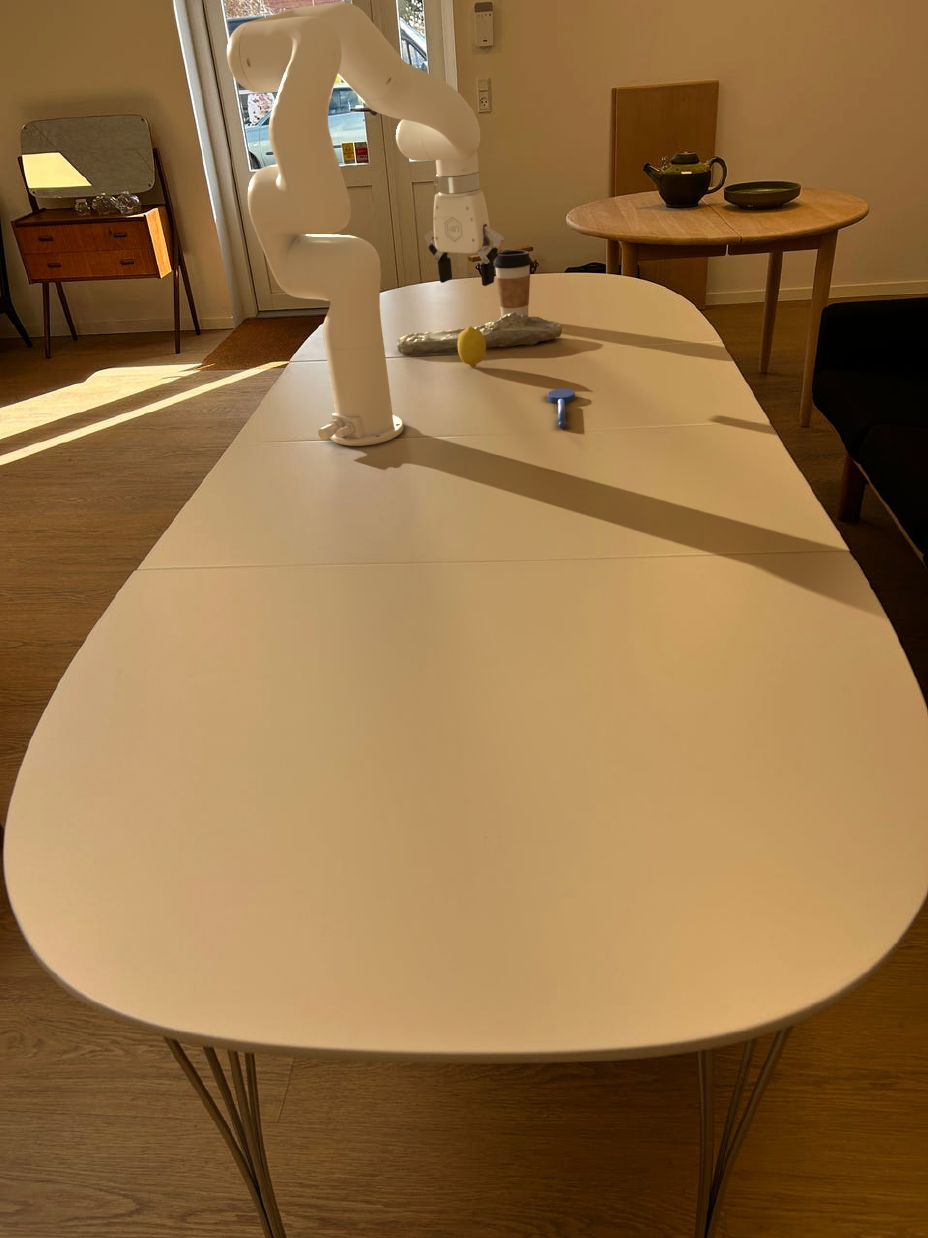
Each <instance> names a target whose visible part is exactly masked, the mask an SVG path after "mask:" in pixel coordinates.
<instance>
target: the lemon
mask: <svg viewBox="0 0 928 1238" xmlns="http://www.w3.org/2000/svg"><path fill="white" fill-rule="evenodd" d="M466 328H467V329H465V330H464V331H463V332H462V333H461V334H460V336H459V339H458V351H457V352H458V353H457V354H458V356H459V358H460V360H461V361H462V362H463V363H465V364H466V365H469V366H470V367H471V368H476V366H477V365H478V364H479V363H481V362H482V361H483V360H484V358H485V356H486V352H487V351H486V350H487V348H486V344H485V340H484V337H483V335H482V333H481V332H480V331H479V330H477V329H475V327H473V326H468V327H466Z"/></svg>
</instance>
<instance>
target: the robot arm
mask: <svg viewBox="0 0 928 1238" xmlns="http://www.w3.org/2000/svg"><path fill="white" fill-rule="evenodd" d="M226 60H227V64H228V65H227V66H228V67H229V71H230V72H231V74H232V75H231V76H232V77H233V78H234V79H235V81H236V82H237V84H239V85H240V86H241V87H242V88H244V89H245V90H247V91H249V92H252V93H257V94H263V93H264V94H265V93H277V94H276V97H275V100H274V103H273V106H272V109H271V113H270V117H269V122H268V138H269V144H270V148H271V151H272V154H273V157H274V161H275V164H272V165H266V166H264V167H261V168H260V169H258V170H257V171H256V172H255V173H254V174H253V175H252V177H251V179H250V181H249V184H248V188H247V207H248V213H249V217H250V220H251V223H252V226H253V228H254V231H255V234H256V236H257V238H258V241H259V243H260V246H261V248H262V251H263V253H264V255H265V258H266V261H267V263H268V265H269V268H270V270H271V273H272V275H273V277H274V280H275V281H276V284H277V285H278V286H279V288H280V289H281V290H282V291H283V292H284V293H286V294H287V295H288V296H291V297H294V298H297V299H306V300H307V299H309V300H322V301H328V302H329V308H328V311H327V313H326V316H325V318H324V321H323V325H322V337H323V345H324V349H325V354H326V362H327V368H328V374H329V381H330V386H331V393H332V400H333V406H334V413H332V414H331V419H332V421H330V423H329V424H327V425H325V426H323V427H320V428H319V429H318V432H317V434H318V437H319V438H320V440H322V441H325V440H328V439H330V440H331V441H332V442H334V443H336V444H338V445H339V444H340V445H342V446H350V447H363V446H370V445H372V446H373V445H377V444H381V443H382V444H383V443H385V442H388V441H390V440H393V439H395V438H396V437H398V436H399V435H400V434H402V432H404V431H403V430H404V422H403V420H402V419H401V418H399V417H398V416H396V415H394V414H393V406H392V399H391V389H390V383H389V375H388V367H387V358H386V351H385V342H384V335H383V327H382V319H381V302H380V301H381V299H380V297H381V280H382V265H381V259H380V255H379V253H378V251H377V250H376V248H375V247H374V245H372V243H371V242H369V241H367V240H365V239H363V238H361V237H357V236H354V235H341V234H335V233H338V232H340V231H342V230H343V229H345V228H346V227H347V226H348V224H349V222H350V221H351V217H352V204H351V199H350V195H349V192H348V188H347V185H346V181H345V179H344V176H343V175H344V174H343V173H342V169H341V166H340V163H339V160H338V156H337V153H336V150H335V147H334V144H333V140H332V136H331V133H330V129H329V109H330V103H331V98H332V94H333V90H334V87H335V84H336V81H337V78H338V77H339V78H341V80H342V81H343V82H344V83H345V84H346V85H347V86H348V87H349V88H350V89H351V90H352V91H353V92H354V93H355V94H356V95H357V96H358V98H359V99H360V100H361V101H362V102H363V103H364V104H365V105H366V106H367V107H368V108H369V110H372V111H373V112H374V113H375V112H376V113H378V114H381V115H384V116H387V117H390V118H393V119H398V120H400V122H399V123H398V126H397V129H396V135H395V139H396V144H397V148H398V149H399V151H400V152H401V154H402V155H403V156H404V157H405V158H407V159H409V160H412V161H414V162H415V161H417V162H435V166H436V177H434V178H433V182H432V183H433V185H434V186H437V189H438V193H436V194H434V201H433V228H432V229H431V230H429V231H428V232H426V233H425V234H424V235H423V239H424V240H425V242H426V245H427V246H428V250H429V251H430V253H431V254H432V255H433V257H434V260H435V261H436V262H437V268H438V269H437V270H438V276H439V282H440V283H441V284H443V283H447V282H448V281H451V280H452V279H453V271H452V260H451V257H448V256H449V254H466V255H467V254H468V255H471V254H477V255H478V256H479V258H480V259H481V261H482V263H481V264H480V277H481V285H482V286H483V287H487V286H489V285H492V284H494V283H495V278H496V273H495V267H494V261H495V260H496V257H497V256H498V255H499V253H500V252H502V248H503V245H504V242H505V237H504V235H502V234H500V233H499V232H497V231H495V230H494V229H493V228H492V227H491V226H490V218H489V212H488V206H487V202H486V198H485V194H484V191H483V190H481V183H480V170H479V155H478V154H479V153H478V149H479V147H480V143H481V128H480V123H479V121H478V119H477V116H476V114H475V111H474V110H473V108H472V107H471V106H470V104H469V103H468V102H467V101H466V99H465V98H464V97H463V96H462V95H461V94H460V92H459V91H458V90H457V89H455V88H454V87H453V86H452V85H450V84H449V83H447V82H446V81H444V80H442V79H439V77H436V76H434V75H432V74H431V73H428V72H426V71H425V70H423V69H421V68H418V67H416V66H414V65H412V64H410V63H408V62H407V61H405V60H404V59H403V58H402V57H401V55H400V54H399V53H398V52H397V50H396V49H395V48H394V47H393V46H392V44H391V43H390V41H388V40H387V38H386V37H385V36H384V34H383V33H382V32H381V31H380V29H379V28H378V27H377V25H376V24H375V23H374V22H373V21H372V20H371V18H370V17H369V16H368V15H367V14H366V13H365V12H364V10H363V9H361V8H360V7H359V6H357V5H355V4H353V3H349V2H331V3H330V2H329V3H323V4H315V5H307V6H305V5H304V6H300V7H295V8H291V9H289V10H285V11H282V12H278V13H275V14H273V15H269V16H265V17H262V18H257V19H254V20H250V21H247V22H244V23H241V24H239V25H238V26H237V27H235V29H234V30H233V31H232V32H231V34H230V37H229V38H228V41H227V47H226ZM491 241H492V243H493V245H492V247H490V246H491Z"/></svg>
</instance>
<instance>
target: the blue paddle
mask: <svg viewBox="0 0 928 1238" xmlns="http://www.w3.org/2000/svg"><path fill="white" fill-rule="evenodd" d="M575 398H576V392H575V391H574V390H572V389H569V388H557V389H552V390H550V391H548V393H547V401H548V402H550V403H553V404H557V423H558V426H557V427H558V428H559V429H561V430H563V429H565V428H566V426H567V423H566V422H567V421H566V403H570V402H573V401H574V400H575Z"/></svg>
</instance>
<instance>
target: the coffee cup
mask: <svg viewBox="0 0 928 1238" xmlns="http://www.w3.org/2000/svg"><path fill="white" fill-rule="evenodd" d="M531 264H532V259H531V257H530V252H529V251H528V250H523V249H511V250H504V251H501V252H500V253H499V255H498V256H497V257H496V260H494V269H495V280H496V288H497V295H498V302H499V307H500V308H499V309H500V315H501V316H500V317H503V316H505V315H507V314H509V313H514V312H515V313H516V314H517V315H521V316H522V315H525V314H526V315H528V316H529V305H530V304H529V303H530V287H531V272H530V267H531V266H530V265H531Z"/></svg>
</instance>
